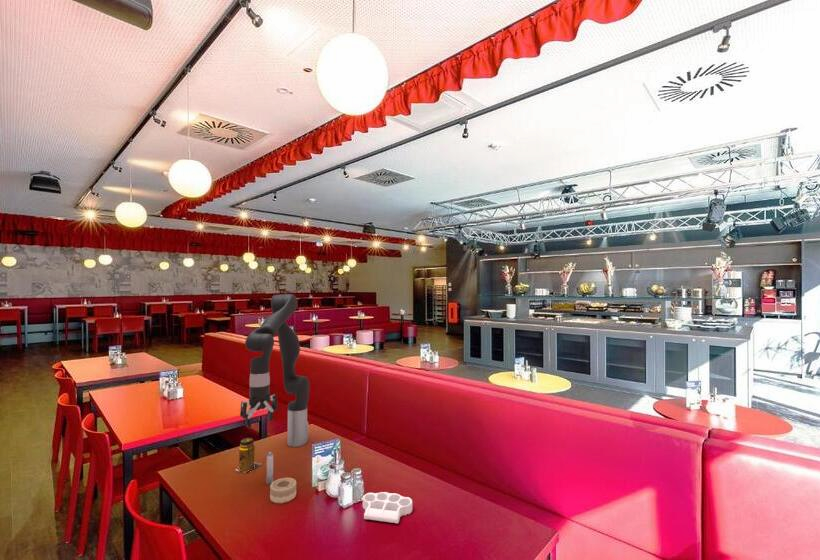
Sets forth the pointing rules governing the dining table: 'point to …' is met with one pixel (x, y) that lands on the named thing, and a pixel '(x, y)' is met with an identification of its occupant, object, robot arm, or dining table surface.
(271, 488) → the bead
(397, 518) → the white compartment tray
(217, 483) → the dining table surface
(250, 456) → the condiment
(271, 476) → the white rod
